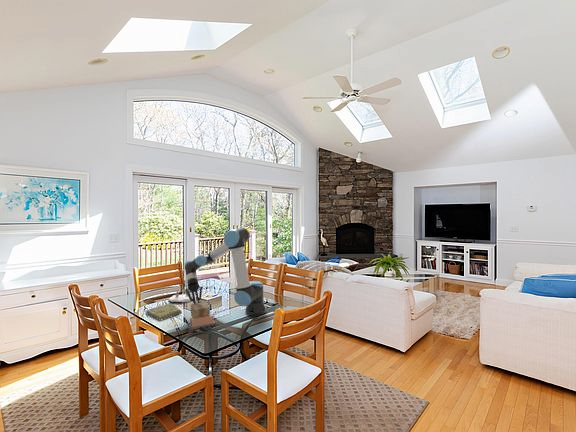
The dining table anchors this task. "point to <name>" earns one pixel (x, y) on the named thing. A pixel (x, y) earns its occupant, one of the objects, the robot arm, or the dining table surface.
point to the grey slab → (199, 321)
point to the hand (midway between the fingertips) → (197, 309)
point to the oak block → (199, 310)
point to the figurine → (180, 296)
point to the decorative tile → (164, 311)
